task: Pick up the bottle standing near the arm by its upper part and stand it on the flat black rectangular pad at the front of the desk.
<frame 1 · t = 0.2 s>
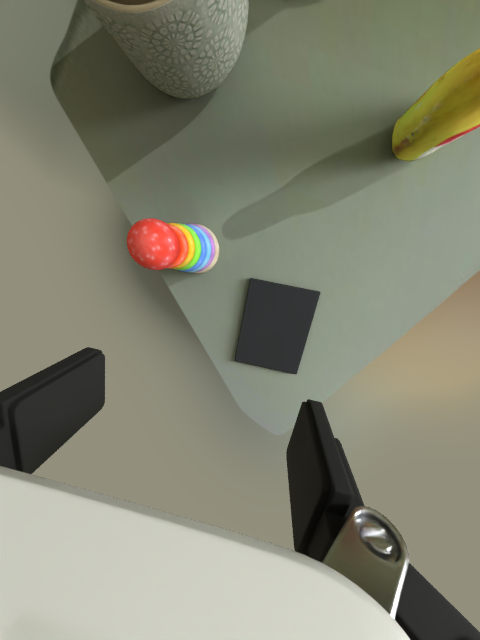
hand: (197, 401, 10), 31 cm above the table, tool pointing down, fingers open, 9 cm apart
planter: (193, 44, 31), on the table
flat black rectangular pad: (274, 327, 41), on the table
stacking toy: (197, 249, 39), on the table
bottle: (427, 132, 31), on the table
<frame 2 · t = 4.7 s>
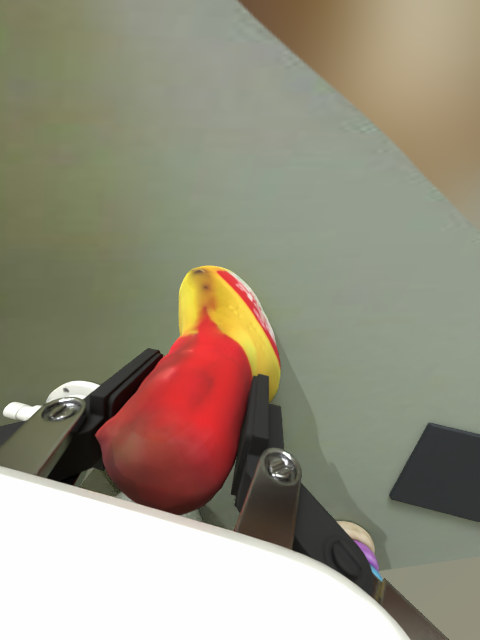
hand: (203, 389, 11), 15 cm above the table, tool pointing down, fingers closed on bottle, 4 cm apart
flat black rectangular pad: (474, 477, 27), on the table
stacking toy: (341, 535, 33), on the table
bottle: (240, 313, 25), on the table, touching gripper
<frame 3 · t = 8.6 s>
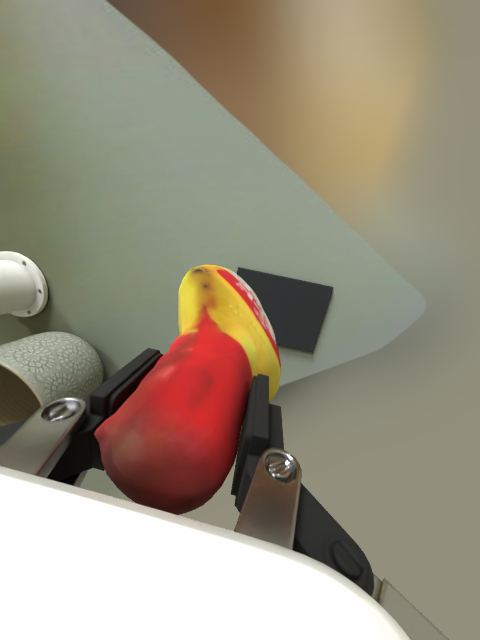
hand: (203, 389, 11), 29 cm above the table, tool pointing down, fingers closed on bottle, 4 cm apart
planter: (79, 360, 48), on the table
flat black rectangular pad: (276, 310, 40), on the table
bottle: (240, 312, 25), point 15 cm above the table, touching gripper
when the fingers open (15 cm above the table, at t = 12.6 s): bottle stays where it is, resting on flat black rectangular pad.
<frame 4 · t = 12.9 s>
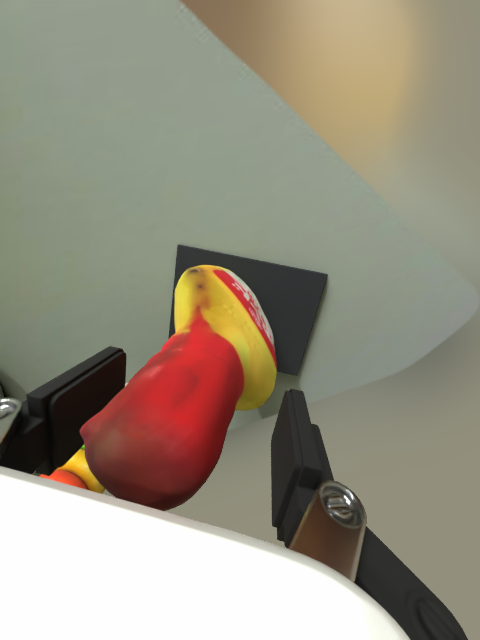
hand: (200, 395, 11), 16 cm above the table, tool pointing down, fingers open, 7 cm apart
flat black rectangular pad: (241, 312, 26), on the table
stacking toy: (143, 403, 31), on the table
bottle: (239, 312, 25), resting on flat black rectangular pad
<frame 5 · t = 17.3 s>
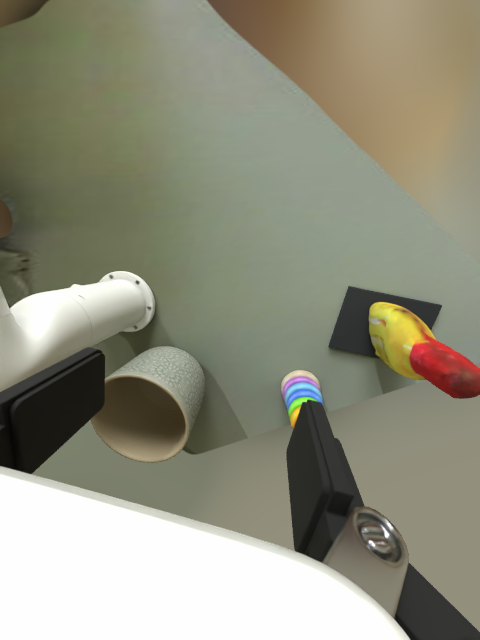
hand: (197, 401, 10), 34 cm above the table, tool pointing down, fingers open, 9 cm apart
planter: (175, 372, 51), on the table
flat black rectangular pad: (381, 326, 42), on the table
stacking toy: (299, 385, 48), on the table
bottle: (381, 326, 42), resting on flat black rectangular pad
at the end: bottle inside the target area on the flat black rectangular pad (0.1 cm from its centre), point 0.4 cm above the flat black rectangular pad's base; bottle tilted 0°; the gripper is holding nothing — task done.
